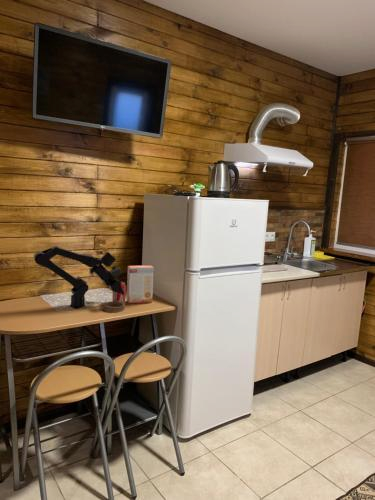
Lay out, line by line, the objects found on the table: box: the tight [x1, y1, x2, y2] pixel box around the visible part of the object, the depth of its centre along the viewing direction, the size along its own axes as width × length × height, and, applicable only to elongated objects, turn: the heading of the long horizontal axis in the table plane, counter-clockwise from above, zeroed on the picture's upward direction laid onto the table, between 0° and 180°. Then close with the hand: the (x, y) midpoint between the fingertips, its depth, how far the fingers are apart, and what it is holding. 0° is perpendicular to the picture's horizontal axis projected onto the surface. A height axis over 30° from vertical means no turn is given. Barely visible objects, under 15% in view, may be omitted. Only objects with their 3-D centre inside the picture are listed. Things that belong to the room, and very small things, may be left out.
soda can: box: [112, 281, 127, 304], centre depth 214 cm, size 7×7×12 cm
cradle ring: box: [102, 300, 126, 313], centre depth 204 cm, size 11×11×2 cm
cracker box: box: [126, 265, 155, 304], centre depth 220 cm, size 14×6×21 cm, turn 111°
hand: (121, 291), depth 215 cm, fingers open, 9 cm apart
